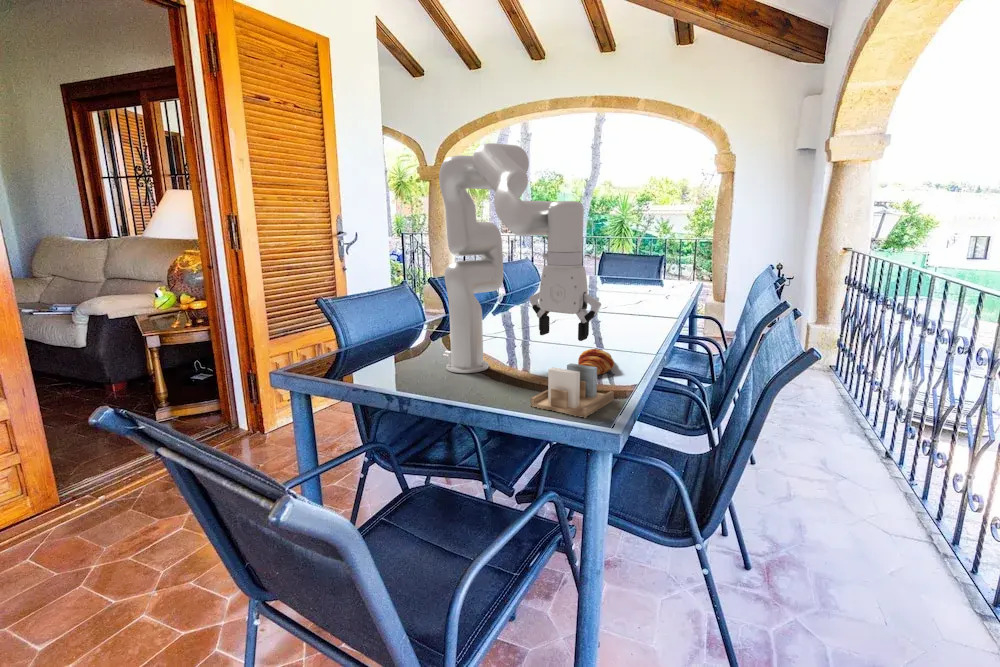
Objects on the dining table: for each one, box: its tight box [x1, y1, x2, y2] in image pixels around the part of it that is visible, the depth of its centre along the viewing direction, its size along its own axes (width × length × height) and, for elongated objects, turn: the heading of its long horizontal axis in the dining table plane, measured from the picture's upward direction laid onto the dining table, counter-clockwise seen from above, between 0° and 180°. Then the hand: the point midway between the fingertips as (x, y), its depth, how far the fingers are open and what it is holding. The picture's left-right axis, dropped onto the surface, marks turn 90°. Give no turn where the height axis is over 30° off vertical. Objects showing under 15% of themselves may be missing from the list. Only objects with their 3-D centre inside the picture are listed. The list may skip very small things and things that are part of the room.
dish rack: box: [530, 362, 615, 418], centre depth 123 cm, size 14×15×8 cm
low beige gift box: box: [547, 367, 580, 408], centre depth 119 cm, size 7×2×8 cm, turn 54°
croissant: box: [577, 348, 615, 376], centre depth 151 cm, size 21×10×8 cm, turn 151°
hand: (563, 336), depth 117 cm, fingers open, 9 cm apart
